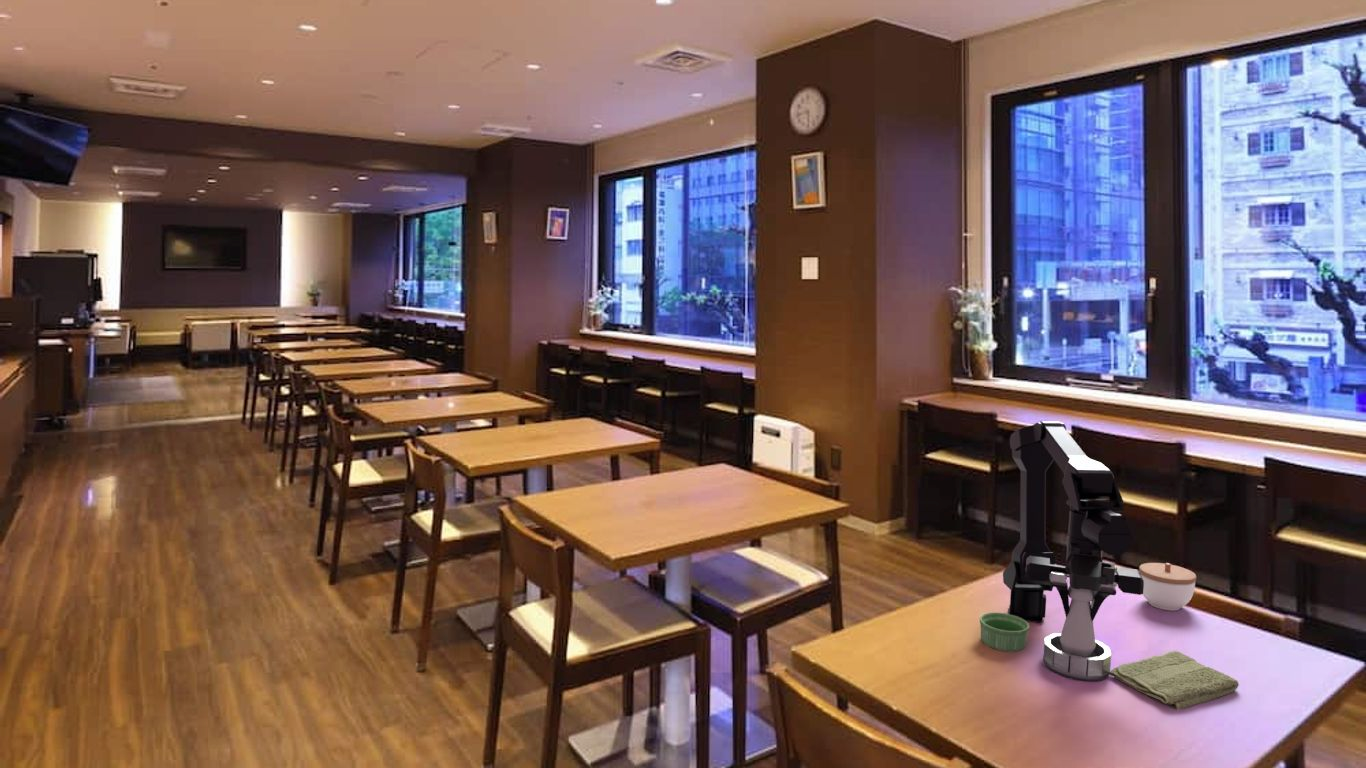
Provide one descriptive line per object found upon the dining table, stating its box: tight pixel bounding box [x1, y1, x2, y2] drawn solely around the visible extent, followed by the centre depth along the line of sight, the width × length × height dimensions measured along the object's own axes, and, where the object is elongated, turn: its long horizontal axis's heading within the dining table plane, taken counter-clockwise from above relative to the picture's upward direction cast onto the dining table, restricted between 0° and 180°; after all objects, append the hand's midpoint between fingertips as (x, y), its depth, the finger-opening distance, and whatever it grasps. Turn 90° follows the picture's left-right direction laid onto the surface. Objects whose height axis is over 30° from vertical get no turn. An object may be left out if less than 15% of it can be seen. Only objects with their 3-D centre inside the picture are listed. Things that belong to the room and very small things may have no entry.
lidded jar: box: [1138, 562, 1197, 612], centre depth 177 cm, size 11×11×9 cm
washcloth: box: [1109, 650, 1240, 710], centre depth 142 cm, size 13×18×3 cm
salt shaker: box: [1060, 585, 1096, 657], centre depth 147 cm, size 6×6×13 cm
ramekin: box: [979, 612, 1030, 652], centre depth 158 cm, size 9×9×4 cm
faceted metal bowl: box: [1042, 632, 1112, 683], centre depth 148 cm, size 11×11×4 cm
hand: (1078, 619), depth 147 cm, fingers closed on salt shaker, 3 cm apart
